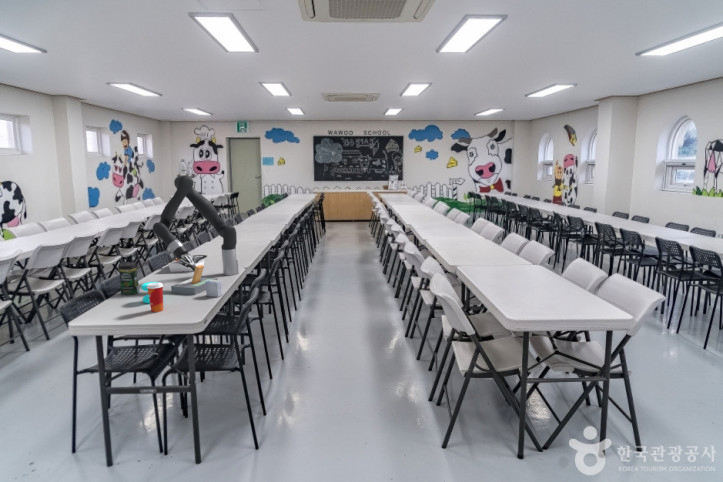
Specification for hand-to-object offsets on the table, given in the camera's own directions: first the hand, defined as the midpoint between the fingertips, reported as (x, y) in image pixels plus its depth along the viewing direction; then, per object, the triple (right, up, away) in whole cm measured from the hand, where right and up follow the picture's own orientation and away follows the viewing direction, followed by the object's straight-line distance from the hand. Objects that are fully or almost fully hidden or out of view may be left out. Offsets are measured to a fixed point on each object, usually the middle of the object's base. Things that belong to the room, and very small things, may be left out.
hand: (196, 270), depth 269 cm
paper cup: (-7, -18, -37) cm, 41 cm away
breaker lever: (-2, -8, +2) cm, 9 cm away
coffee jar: (-37, -13, -4) cm, 39 cm away
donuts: (-17, -16, -20) cm, 31 cm away
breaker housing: (-2, -11, +3) cm, 11 cm away
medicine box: (+15, -14, -12) cm, 23 cm away
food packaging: (-27, -3, +56) cm, 62 cm away
